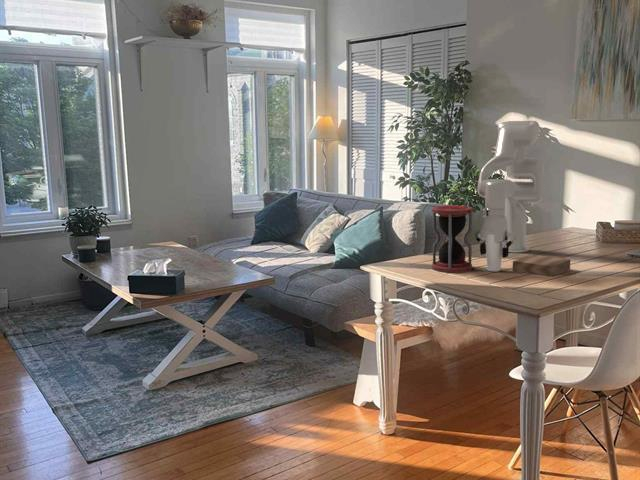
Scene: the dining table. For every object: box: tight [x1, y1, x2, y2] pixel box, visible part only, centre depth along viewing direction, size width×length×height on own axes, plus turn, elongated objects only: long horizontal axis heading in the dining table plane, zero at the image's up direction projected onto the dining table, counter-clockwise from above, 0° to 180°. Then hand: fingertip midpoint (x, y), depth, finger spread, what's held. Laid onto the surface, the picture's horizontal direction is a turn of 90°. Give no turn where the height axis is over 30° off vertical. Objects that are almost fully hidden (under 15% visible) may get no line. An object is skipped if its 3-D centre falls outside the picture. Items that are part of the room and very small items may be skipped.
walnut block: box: [512, 254, 571, 277], centre depth 248 cm, size 16×16×4 cm
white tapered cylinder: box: [485, 234, 503, 273], centre depth 249 cm, size 7×7×15 cm
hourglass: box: [431, 204, 474, 273], centre depth 253 cm, size 16×16×25 cm
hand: (493, 255), depth 249 cm, fingers open, 9 cm apart
